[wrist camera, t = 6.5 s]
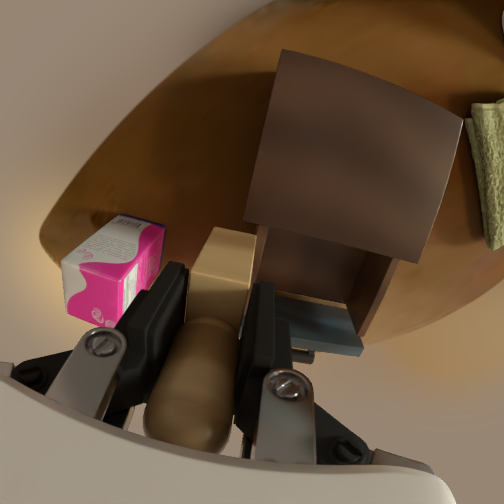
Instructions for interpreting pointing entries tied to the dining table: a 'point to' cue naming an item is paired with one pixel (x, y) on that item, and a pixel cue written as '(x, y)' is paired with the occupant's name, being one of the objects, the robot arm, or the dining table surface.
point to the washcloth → (489, 166)
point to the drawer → (321, 289)
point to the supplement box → (111, 269)
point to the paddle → (205, 349)
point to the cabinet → (351, 159)
